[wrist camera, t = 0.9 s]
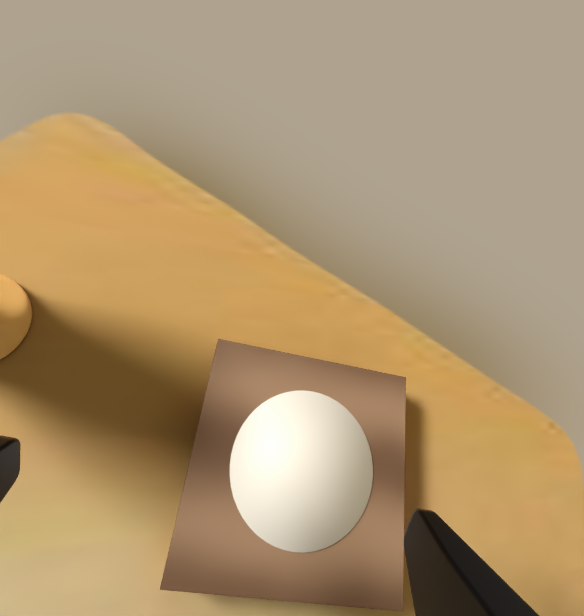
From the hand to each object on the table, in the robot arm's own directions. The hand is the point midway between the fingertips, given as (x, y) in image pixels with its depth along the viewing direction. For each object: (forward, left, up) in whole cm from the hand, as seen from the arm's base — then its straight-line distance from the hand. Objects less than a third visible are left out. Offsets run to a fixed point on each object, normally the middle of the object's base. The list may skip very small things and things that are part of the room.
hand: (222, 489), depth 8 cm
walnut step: (+1, -5, -14) cm, 15 cm away
